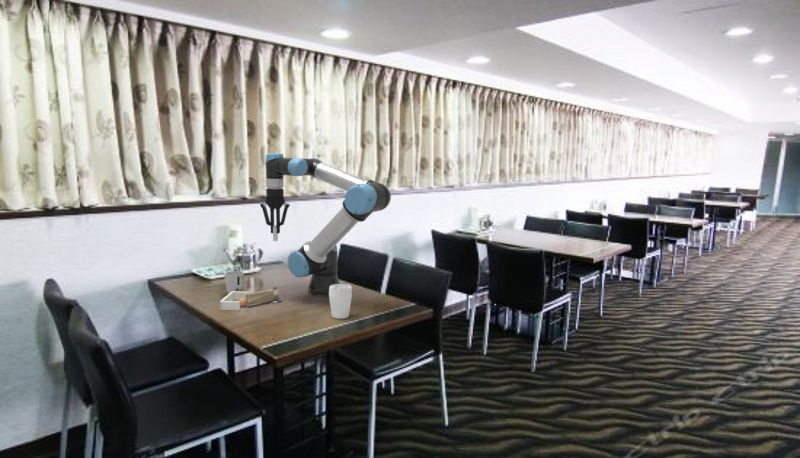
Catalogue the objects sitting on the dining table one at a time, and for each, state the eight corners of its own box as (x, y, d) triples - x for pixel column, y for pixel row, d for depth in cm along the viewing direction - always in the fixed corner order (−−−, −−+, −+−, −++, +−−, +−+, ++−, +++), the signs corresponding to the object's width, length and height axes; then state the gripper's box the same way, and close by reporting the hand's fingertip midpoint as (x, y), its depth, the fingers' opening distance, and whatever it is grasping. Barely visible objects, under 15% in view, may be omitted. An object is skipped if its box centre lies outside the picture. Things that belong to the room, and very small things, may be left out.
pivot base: (283, 299, 203) (283, 298, 202) (280, 303, 197) (280, 302, 197) (270, 298, 202) (270, 297, 202) (266, 302, 196) (266, 302, 196)
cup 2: (340, 310, 189) (341, 282, 187) (356, 316, 183) (356, 286, 181) (324, 316, 182) (324, 286, 180) (339, 321, 176) (340, 291, 174)
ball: (237, 305, 192) (245, 304, 193) (238, 307, 189) (247, 307, 190) (237, 297, 191) (246, 296, 193) (238, 299, 188) (247, 299, 190)
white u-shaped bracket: (250, 299, 201) (250, 291, 200) (239, 310, 186) (239, 302, 185) (232, 299, 200) (231, 291, 200) (219, 310, 186) (219, 301, 185)
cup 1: (238, 298, 202) (237, 275, 201) (221, 296, 204) (220, 274, 202) (247, 293, 210) (247, 271, 209) (231, 291, 212) (231, 270, 210)
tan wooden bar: (280, 299, 199) (280, 287, 199) (249, 306, 189) (248, 294, 188) (276, 297, 201) (276, 286, 201) (245, 304, 191) (245, 292, 190)
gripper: (291, 188, 209) (291, 239, 213) (261, 187, 208) (262, 238, 212) (288, 189, 202) (288, 242, 205) (257, 188, 201) (258, 241, 204)
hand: (275, 240), depth 208 cm, fingers closed
